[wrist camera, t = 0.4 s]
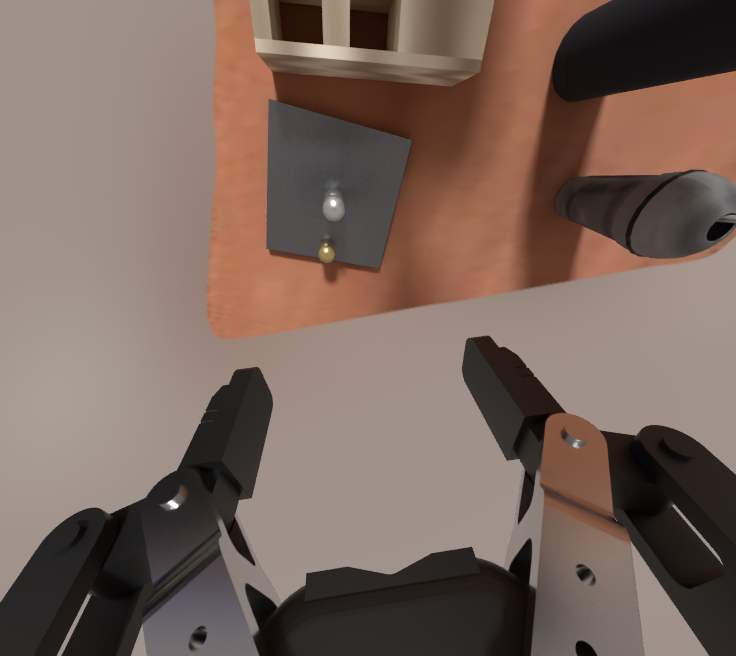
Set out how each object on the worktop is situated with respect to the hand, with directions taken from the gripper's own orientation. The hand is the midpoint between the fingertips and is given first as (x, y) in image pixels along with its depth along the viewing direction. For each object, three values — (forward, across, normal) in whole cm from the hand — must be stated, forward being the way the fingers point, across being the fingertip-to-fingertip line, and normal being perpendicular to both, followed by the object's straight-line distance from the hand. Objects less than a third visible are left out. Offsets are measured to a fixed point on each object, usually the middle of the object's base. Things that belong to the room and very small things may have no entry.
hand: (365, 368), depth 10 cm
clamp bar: (+26, -4, -14) cm, 30 cm away
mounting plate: (+26, +1, -2) cm, 26 cm away
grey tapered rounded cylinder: (+26, -28, +1) cm, 39 cm away
